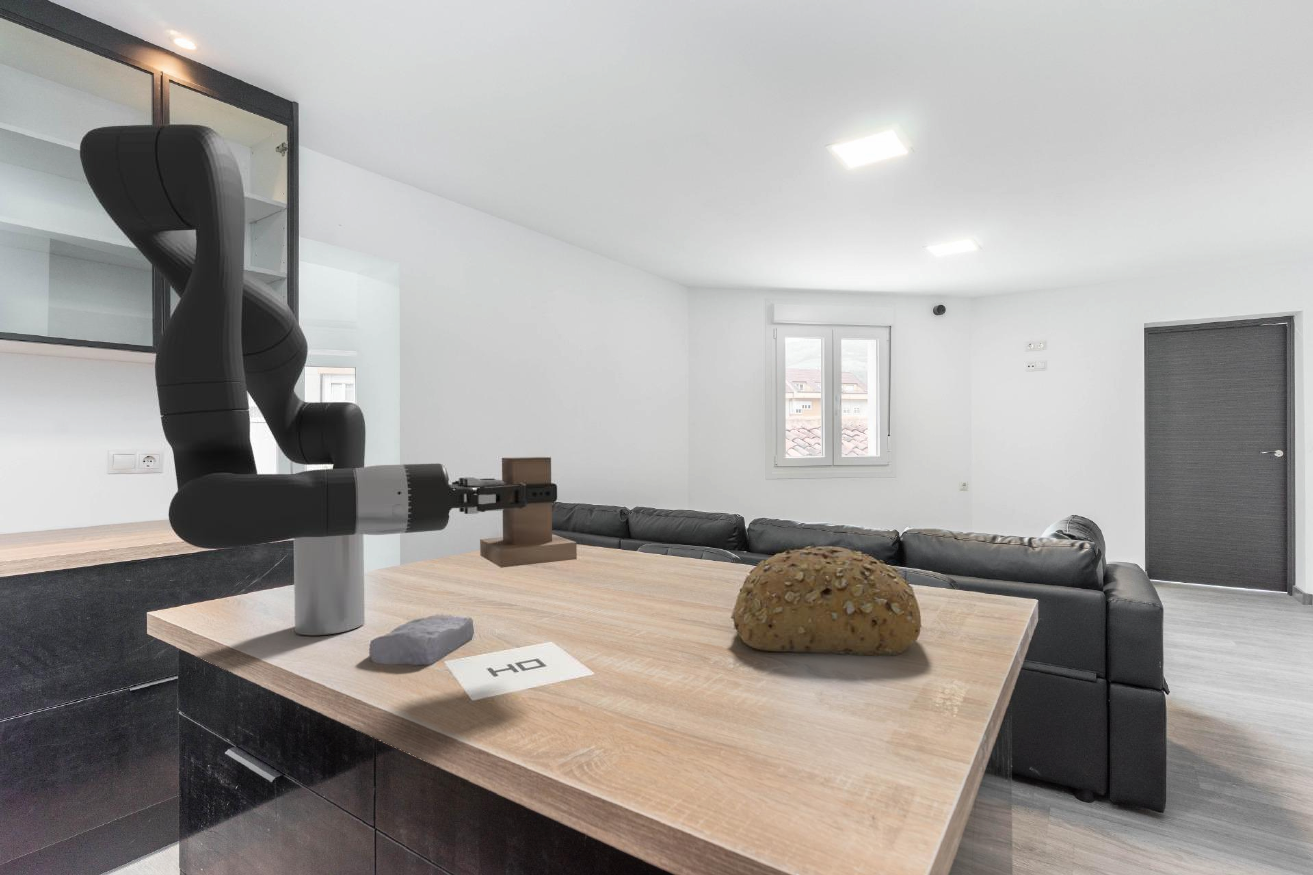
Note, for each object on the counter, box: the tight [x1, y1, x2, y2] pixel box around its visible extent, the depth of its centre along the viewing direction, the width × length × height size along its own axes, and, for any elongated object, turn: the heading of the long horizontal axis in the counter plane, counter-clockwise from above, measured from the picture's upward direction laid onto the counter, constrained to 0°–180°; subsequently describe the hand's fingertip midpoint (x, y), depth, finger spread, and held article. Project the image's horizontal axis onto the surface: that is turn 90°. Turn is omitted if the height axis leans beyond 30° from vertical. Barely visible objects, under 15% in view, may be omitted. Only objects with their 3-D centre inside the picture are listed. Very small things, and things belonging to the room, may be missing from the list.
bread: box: [730, 545, 923, 656], centre depth 88 cm, size 24×21×12 cm
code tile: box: [443, 641, 596, 702], centre depth 76 cm, size 14×14×1 cm
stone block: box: [368, 614, 475, 666], centre depth 84 cm, size 12×5×10 cm
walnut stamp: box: [479, 456, 578, 569], centre depth 77 cm, size 9×9×12 cm
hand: (547, 490), depth 79 cm, fingers closed on walnut stamp, 4 cm apart
